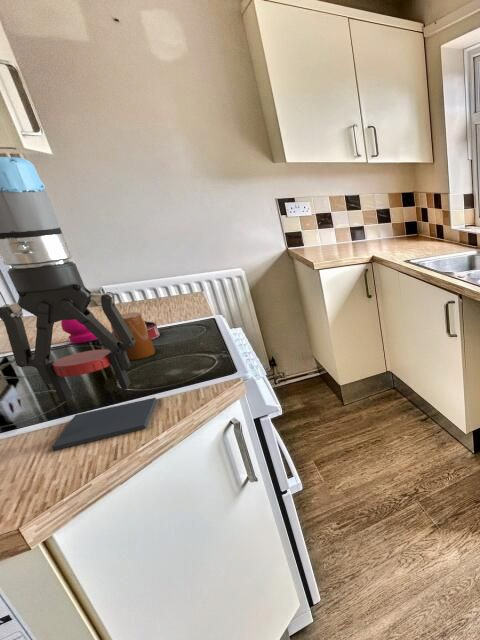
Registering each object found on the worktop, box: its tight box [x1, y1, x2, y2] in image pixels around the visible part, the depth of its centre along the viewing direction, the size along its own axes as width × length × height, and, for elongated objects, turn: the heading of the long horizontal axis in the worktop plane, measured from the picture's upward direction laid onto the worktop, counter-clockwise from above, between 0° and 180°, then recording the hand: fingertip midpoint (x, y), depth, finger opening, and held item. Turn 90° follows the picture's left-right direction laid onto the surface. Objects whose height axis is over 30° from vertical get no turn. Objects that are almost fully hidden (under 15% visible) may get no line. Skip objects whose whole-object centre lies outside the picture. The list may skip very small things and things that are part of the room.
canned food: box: [111, 320, 161, 340], centre depth 119 cm, size 11×10×10 cm
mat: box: [51, 397, 158, 451], centre depth 77 cm, size 12×12×1 cm
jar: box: [109, 312, 156, 361], centre depth 106 cm, size 6×6×11 cm
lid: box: [52, 349, 112, 377], centre depth 72 cm, size 7×7×2 cm
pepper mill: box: [60, 319, 99, 344], centre depth 117 cm, size 7×7×20 cm
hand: (97, 392), depth 75 cm, fingers closed on lid, 7 cm apart
